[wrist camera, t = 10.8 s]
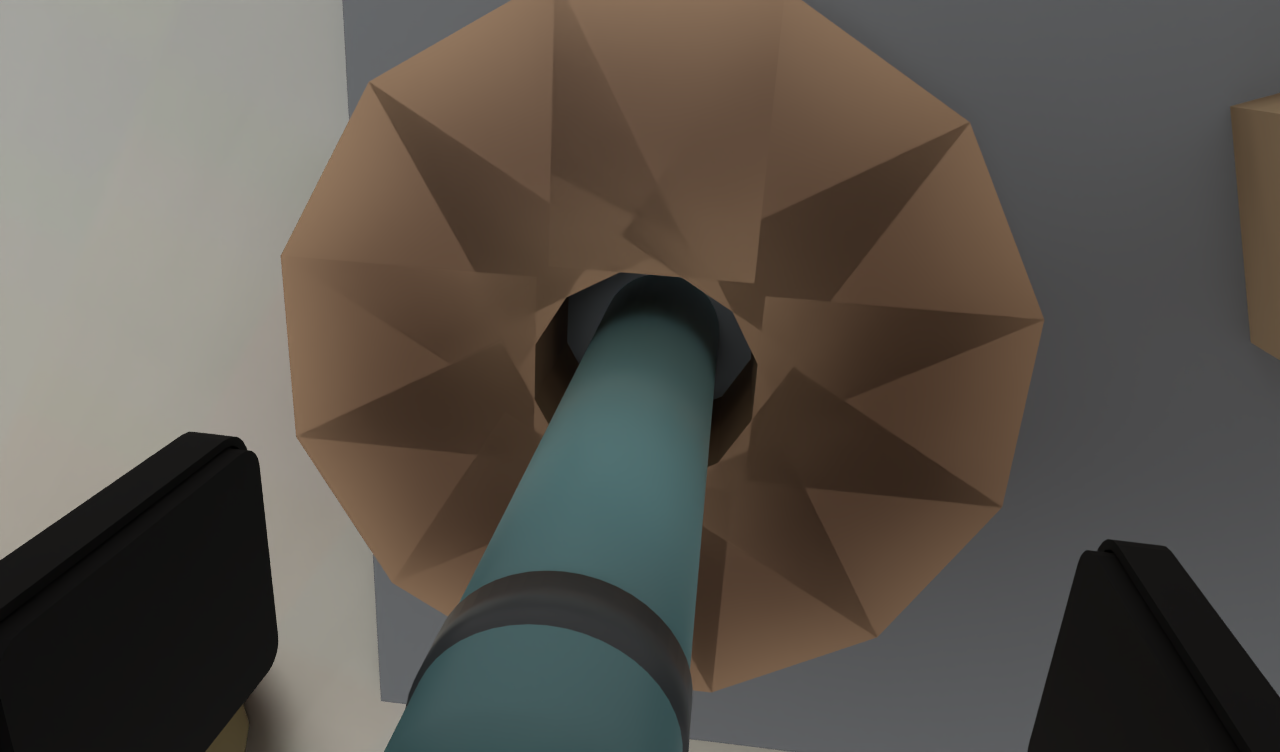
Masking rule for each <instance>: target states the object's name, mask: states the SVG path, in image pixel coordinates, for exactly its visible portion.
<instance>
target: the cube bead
mask: <svg viewBox="0 0 1280 752" xmlns="http://www.w3.org/2000/svg"><path fill="white" fill-rule="evenodd" d="M1230 111H1231V122H1232V133H1233V145H1234V156H1235V168H1236V179H1237V191H1238V202H1239V214H1240V225H1241V237H1242V248H1243V260H1244V271H1245V282H1246V294H1247V305H1248V317H1249V328H1250V340H1251V343H1252V344H1254V345H1256V346H1257V347H1259V348H1260V349H1262V350H1264V351H1265V352H1267V353H1269V354H1270V355H1272V356H1274V357H1275V358H1277V359H1278V360H1280V93H1278V94H1274V95H1270V96H1266V97H1263V98H1259V99H1255V100H1252V101H1248V102H1244V103H1241V104H1237V105H1233V106H1230Z"/></svg>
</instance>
